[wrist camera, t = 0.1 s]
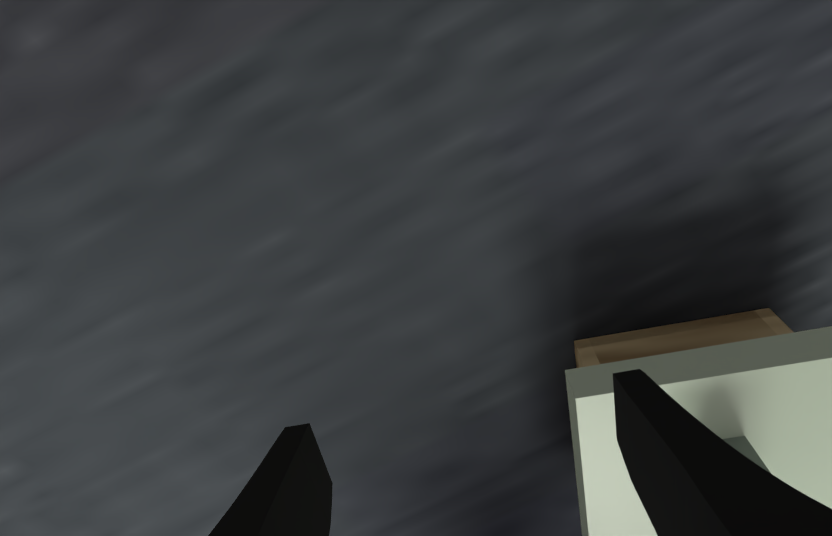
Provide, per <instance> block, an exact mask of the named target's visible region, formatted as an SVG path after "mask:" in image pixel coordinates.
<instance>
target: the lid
mask: <svg viewBox="0 0 832 536" xmlns="http://www.w3.org/2000/svg"><path fill="white" fill-rule="evenodd" d="M636 369H641V370H642V371H643V372H645V373H646V374H647V375H648V376H649V377H650V378H651V379H652V380H653V381H654V382H655V383H656V384H658V385H659V386H660V387H661V388H662V389H663V390H664V391H665V392H666V393H667V394H668V395H670V396H671V397H672V398H673V399H674V400H675V401H676V402H677V403H679V404H680V405H681V406H682V407H683V408H684V409H686V410H687V411H688V412H689V413H690V414H691V415H693V416H694V417H695V418H696V419H698V420H699V421H700V422H701V423H702V424H704V425H705V426H706V427H707V428H709V429H710V430H711V431H712V432H714V433H715V434H716V435H717V436H719V437H720V438H721V439H723V440H724V441H725V442H727V443H728V444H729V445H731V446H732V447H733V448H735V449H736V450H737V451H739V452H740V453H742V454H743V455H744V456H746V457H747V458H749V459H750V460H751V461H753V462H754V463H756V464H757V465H759V466H760V467H762V468H763V469H765V470H766V471H768V472H769V473H771V474H772V475H774V476H776V477H777V478H779V479H780V480H782V481H783V482H785V483H787V484H788V485H790V486H791V487H793V488H795V489H797V490H798V491H800V492H802V493H803V494H805V495H807V496H809V497H810V498H812V499H814V500H816V501H818V502H820V503H822V504H824V505H825V506H827V507H829V508H831V509H832V326H830V327H824V328H818V329H812V330H806V331H800V332H794V333H787V334H781V335H775V336H769V337H763V338H757V339H751V340H745V341H739V342H733V343H727V344H720V345H714V346H708V347H702V348H696V349H690V350H684V351H678V352H672V353H666V354H660V355H654V356H647V357H641V358H635V359H629V360H623V361H617V362H611V363H605V364H599V365H593V366H587V367H580V368H574V369H568V370H565V376H566V386H567V395H568V405H569V415H570V424H571V434H572V443H573V453H574V463H575V472H576V482H577V491H578V501H579V510H580V520H581V530H582V536H658V535H657V533H656V531H655V529H654V527H653V525H652V523H651V521H650V519H649V517H648V515H647V513H646V510H645V508H644V506H643V504H642V502H641V500H640V498H639V496H638V494H637V492H636V490H635V488H634V486H633V483H632V481H631V479H630V476H629V473H628V470H627V468H626V465H625V462H624V459H623V456H622V453H621V450H620V448H619V445H618V442H617V437H616V421H615V404H614V388H613V373H618V372H624V371H630V370H636Z"/></svg>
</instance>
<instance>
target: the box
mask: <svg viewBox="0 0 832 536" xmlns="http://www.w3.org/2000/svg"><path fill="white" fill-rule="evenodd" d="M787 333H794V332H793V331H792V330H791V329H790V328H789V327H788V326H787V325H786V324H785V323H784V322H783V321H782V320H781V319H780V318H779V317H778V316H777V315H776V314H775V313H774V312H773V311H772V310H771V309H770V308H765V309H759V310H753V311H747V312H741V313H735V314H730V315H724V316H718V317H712V318H706V319H700V320H694V321H688V322H682V323H676V324H670V325H664V326H658V327H652V328H646V329H640V330H634V331H629V332H623V333H617V334H611V335H605V336H599V337H593V338H587V339H581V340H575V341H574V346H575V357H576V368H580V367H587V366H593V365H599V364H605V363H611V362H617V361H623V360H629V359H635V358H641V357H647V356H654V355H660V354H666V353H672V352H678V351H684V350H690V349H696V348H702V347H708V346H714V345H720V344H727V343H733V342H739V341H745V340H751V339H757V338H763V337H769V336H775V335H781V334H787Z"/></svg>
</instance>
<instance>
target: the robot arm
mask: <svg viewBox="0 0 832 536" xmlns="http://www.w3.org/2000/svg"><path fill="white" fill-rule="evenodd" d="M613 388H614V404H615V421H616V437H617V442H618V445H619V448H620V450H621V453H622V456H623V459H624V462H625V465H626V468H627V470H628V473H629V476H630V479H631V481H632V483H633V486H634V488H635V490H636V492H637V494H638V496H639V498H640V500H641V502H642V504H643V506H644V508H645V510H646V513H647V515H648V517H649V519H650V521H651V523H652V525H653V527H654V529H655V531H656V533H657V535H658V536H832V509H831V508H829V507H827V506H825V505H824V504H822V503H820V502H818V501H816V500H814V499H812V498H810V497H809V496H807V495H805V494H803V493H802V492H800V491H798V490H797V489H795V488H793V487H791V486H790V485H788V484H787V483H785V482H783V481H782V480H780V479H779V478H777V477H776V476H774V475H772V474H771V473H769V472H768V471H766V470H765V469H763V468H762V467H760V466H759V465H757V464H756V463H754V462H753V461H751V460H750V459H749V458H747V457H746V456H744V455H743V454H742V453H740V452H739V451H737V450H736V449H735V448H733V447H732V446H731V445H729V444H728V443H727V442H725V441H724V440H723V439H721V438H720V437H719V436H717V435H716V434H715V433H714V432H712V431H711V430H710V429H709V428H707V427H706V426H705V425H704V424H702V423H701V422H700V421H699V420H698V419H696V418H695V417H694V416H693V415H691V414H690V413H689V412H688V411H687V410H686V409H684V408H683V407H682V406H681V405H680V404H679V403H677V402H676V401H675V400H674V399H673V398H672V397H671V396H670V395H668V394H667V393H666V392H665V391H664V390H663V389H662V388H661V387H660V386H659V385H658V384H656V383H655V382H654V381H653V380H652V379H651V378H650V377H649V376H648V375H647V374H646V373H645V372H643V371H642V370H641V369H636V370H630V371H624V372H618V373H613ZM331 507H332V481H331V478H330V476H329V473H328V471H327V468H326V465H325V463H324V460H323V457H322V455H321V452H320V450H319V447H318V444H317V442H316V439H315V437H314V434H313V431H312V429H311V426H310V423H309V424H303V425H297V426H291V427H285V428H284V430H283V431H282V433H281V434H280V436H279V437H278V438H277V440H276V441H275V443H274V444H273V446H272V447H271V449H270V450H269V452H268V453H267V455H266V456H265V458H264V459H263V461H262V462H261V464H260V465H259V467H258V468H257V470H256V471H255V473H254V474H253V476H252V477H251V479H250V480H249V482H248V483H247V484H246V486H245V487H244V489H243V490H242V492H241V493H240V494H239V496H238V497H237V499H236V500H235V501H234V503H233V504H232V506H231V507H230V508H229V510H228V511H227V512H226V513H225V515H224V516H223V517H222V519H221V520H220V521H219V523H218V524H217V525H216V526H215V528H214V529H213V530H212V532H211V533H210V534H209V535H208V536H329V531H330V524H331Z"/></svg>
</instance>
